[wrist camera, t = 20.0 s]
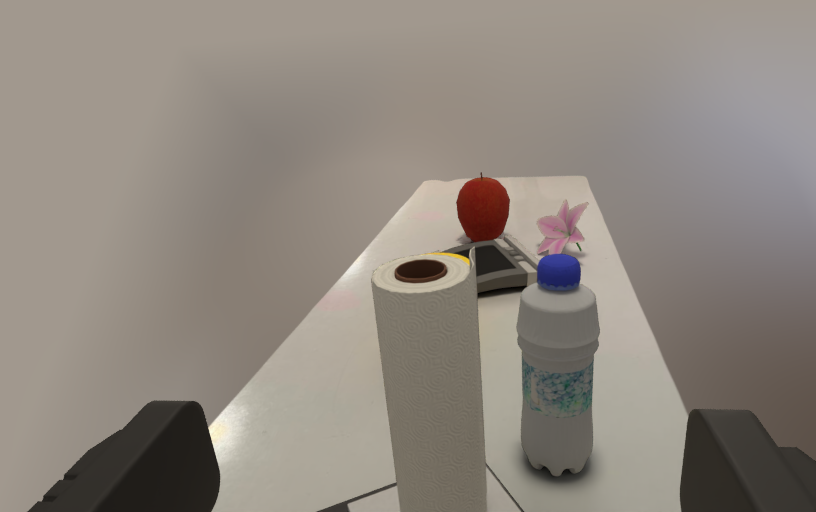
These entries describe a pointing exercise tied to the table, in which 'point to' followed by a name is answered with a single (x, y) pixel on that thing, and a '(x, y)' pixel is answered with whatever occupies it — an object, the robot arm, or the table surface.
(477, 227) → the apple
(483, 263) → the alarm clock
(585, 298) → the bottle
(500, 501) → the scale
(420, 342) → the paper towel roll
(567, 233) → the lily
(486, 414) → the table surface
